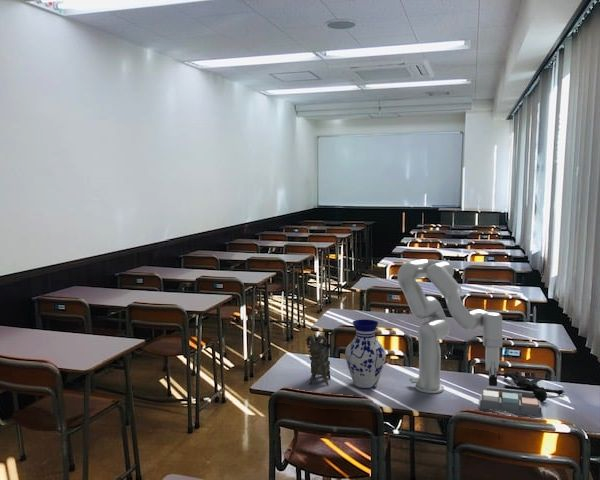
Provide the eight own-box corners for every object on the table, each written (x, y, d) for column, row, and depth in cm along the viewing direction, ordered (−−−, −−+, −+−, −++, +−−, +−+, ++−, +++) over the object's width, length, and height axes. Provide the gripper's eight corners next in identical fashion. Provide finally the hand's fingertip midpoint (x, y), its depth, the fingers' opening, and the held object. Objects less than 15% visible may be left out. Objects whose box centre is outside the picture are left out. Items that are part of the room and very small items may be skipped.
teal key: (502, 404, 210) (502, 397, 210) (502, 399, 216) (502, 392, 216) (518, 406, 208) (518, 399, 208) (517, 400, 214) (517, 393, 214)
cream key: (483, 402, 213) (483, 395, 213) (483, 396, 219) (483, 389, 218) (498, 403, 211) (498, 396, 211) (498, 398, 216) (498, 391, 216)
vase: (386, 393, 230) (386, 328, 227) (344, 391, 232) (344, 327, 230) (384, 378, 249) (385, 318, 246) (345, 377, 251) (345, 317, 248)
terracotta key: (522, 409, 208) (522, 402, 208) (521, 404, 213) (521, 397, 213) (538, 411, 206) (538, 404, 205) (537, 406, 211) (537, 399, 211)
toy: (479, 379, 245) (510, 401, 215) (481, 364, 245) (513, 385, 215) (536, 384, 248) (574, 407, 218) (538, 370, 248) (577, 391, 218)
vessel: (305, 391, 233) (302, 338, 233) (313, 376, 258) (311, 328, 257) (328, 391, 231) (326, 337, 231) (334, 376, 256) (332, 327, 256)
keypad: (479, 408, 213) (479, 394, 212) (479, 398, 223) (480, 385, 223) (542, 416, 204) (542, 402, 204) (540, 405, 215) (540, 392, 214)
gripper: (483, 337, 221) (483, 378, 222) (482, 346, 207) (483, 390, 208) (501, 338, 218) (502, 380, 219) (502, 347, 204) (502, 392, 205)
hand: (493, 385), depth 214 cm, fingers closed
